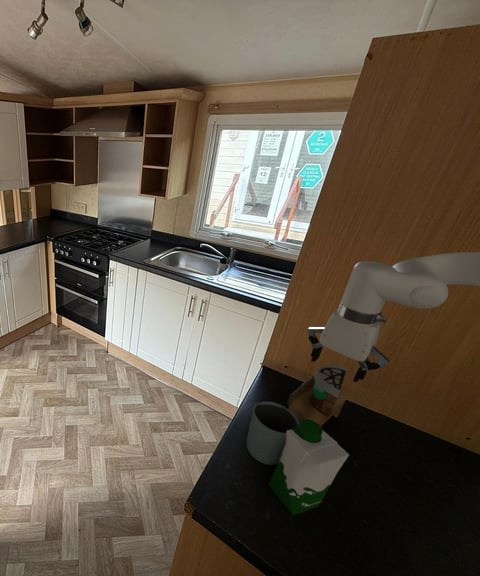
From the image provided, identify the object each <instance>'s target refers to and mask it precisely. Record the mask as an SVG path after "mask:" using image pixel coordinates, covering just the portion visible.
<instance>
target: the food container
mask: <svg viewBox="0 0 480 576" xmlns="http://www.w3.org/2000/svg"><path fill="white" fill-rule="evenodd" d="M348 370H349V368H348V367H344V366H341V365H337V364H325V365H322V366H321V367H319V368H318V369H316V372H315V373H314V374H315V375H314V374H313V375H314V378H315V381H316V382H315V385H314V388H313V392H312V395H311V399H310V401H311V404H312V405H313V407H314V408H315V409H316V410H317V411H319V412H320V413H321V414H323V415H325V416H327V417H329V414H330V412H331V410H332V408H333V406H334V404H335V402H336V400H337V398H338V396H339V394H340V395H341V392H342V390H341V389H342V385H343V383H344V379H345V377H346V375H347V372H348Z"/></svg>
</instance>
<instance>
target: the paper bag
mask: <svg viewBox="0 0 480 576" xmlns="http://www.w3.org/2000/svg"><path fill="white" fill-rule="evenodd" d="M314 375H315V373H314V374H313V375H312V376H311V377H310V378H308V379H307V380H306V381H304V383H302V384H301V385H300V386H299V387H298V388H297V389H296V390H294V391H293V392H291V394H290V395H289V397H288V400H287V402H286V406H288V408H287V409H288V410H290V411H291V412H292V413H293V414H294V415H295V416H296V417H297V419H298V421H299V423H300V421H301V420H302V419H309V420H312V421H314V422H316V423H317V424H318V425H319V426H320V427H321V428H322V427H323V425H325V424H326V422H328V420H329V419H330V418H331V417H332V416H333V417H334V418H338V417H339V415H340V413H341V411H342V409H343V407H344V405H345V403H346V400H347V397H345V396H344V395H342V394H341V393H340V394H339V396H338V398H337V400H336V402H335V404H334V406H333V408H332V410H331V412H330V414H329V417H327V416H325V415H323V414H321V413H320V412H319V411H317V410H316V409H315V408H314V407H313V405H312V404H311V401H310V399H311V395H312V392H313V388H314V385H315V382H316V381H315V378H314Z"/></svg>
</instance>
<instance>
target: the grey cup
mask: <svg viewBox="0 0 480 576" xmlns="http://www.w3.org/2000/svg"><path fill="white" fill-rule="evenodd" d="M298 425H299V421H298V419H297V417H296V416H295V415H294V414H293V413H292V412H291V411H290V410H288V408H287V407H286V406H283V405H281V404H279V403H277V402H273V401H260V402H257V403H256V404H255V405H254V406H253V407H252V413H251V420H250V423H249V427H248V432H247V435H246V436H247V437H246V441H245V445H246V449H247V451H248V453H249V454H250V455H251V457H253V459H255V460H256V461H258V462H259V463H261V464H264V465H268V466H275V465H277V464H278V462H279V459H280V457H281V454H282V452H283V449H284V447H285V444H286V432H287V431H288V430H291V429H293V428H295V427H296V426H298Z"/></svg>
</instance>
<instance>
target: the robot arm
mask: <svg viewBox="0 0 480 576" xmlns="http://www.w3.org/2000/svg"><path fill="white" fill-rule="evenodd" d="M449 285H450V286H453V285H466V286H475V287H480V251H459V252H446V253H438V254H432V255H425V256H420V257H419V256H418V257H413V258H409V259H405V260H401V261H398V262H397V263H395V264H394V265H390V264H388V263H385V262H379V261H374V260H363V261H359V262H357V263H356V264H355V265H354V266H353V269H352V271H351V274H350V277H349V279H348V282H347V285H346V286H345V290H344V293H343V295H342V298H341V301H340V303H339V306H338V308H336V309H335V310H334V311H333V312H332V314H331V315H330V317H329V318H328V320H327V321H326V324H325V326H322V327H321V326H317V327H316V326H309V327H308V328H307V329H306V333H307V336H308V340H309V342H310V344H311V347H312V350H311V353H310V357H311V359H310V361H311V362H314V363H315V362H316V361H318V360H319V358H320V356H321V354H322V353H321V352H323V348H324V347H325V348H327V349H329V350H331V351H334V352H336V353H338V354H339V355H343V356H345V357H347V358H349V359H352V360H354V361H357V364H358V365H359V368H357V371H356V373H355V375H354V378H353V379H352V381H353V382H354V383H358V382H359V381H360V380H361V381H363V380H364V379H365V378H366V375H367V374H368V371H373V370H379V369H380V368H382V367H384V366H387V365H388V364H389V363H390V362H391V361H390V359H389V358H388V357H387V356H386V355H385V354H383V353H382V352H381V351H380V350H379V349H378V348H377V347H376V344H377V341H378V338H379V334H380V331H381V323H383V324H386V322H387V320H388V317H386V316H384V315H383V314H382V312H383V308H384V307H385V304H386V302H387V301H389V302H392V303H395V304H397V305H402V306H405V307H408V308H412V309H413V308H414V309H418V310H419V309H420V310H426V309H427V310H429V309H434V308H437V307H439V306H441V305H442V304H444V303H445V302H446V301H447V299H448V297H449V288H448V286H449ZM316 334H320V336H319V338H318V337H317V335H316ZM371 355H372V356H373V357H374V358H375V359H376V360H377V361H373V362H371V360H370V356H371Z"/></svg>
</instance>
